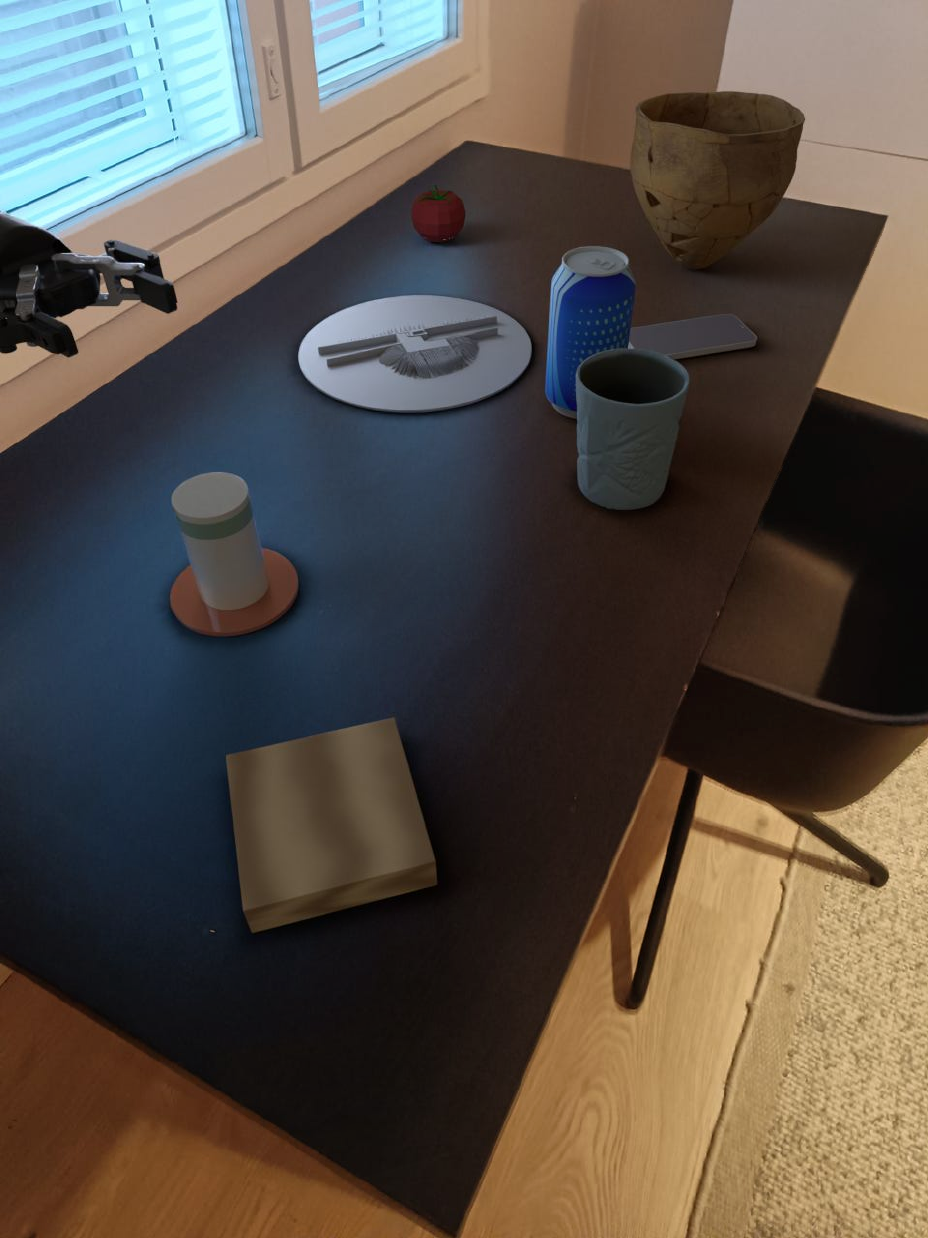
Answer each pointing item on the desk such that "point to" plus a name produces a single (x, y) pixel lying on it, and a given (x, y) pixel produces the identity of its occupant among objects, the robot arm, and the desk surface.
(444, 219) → the tomato
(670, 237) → the bowl
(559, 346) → the beer can
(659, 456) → the embossed ceramic tumbler
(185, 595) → the coaster
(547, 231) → the desk surface
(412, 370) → the plate
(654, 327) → the smartphone
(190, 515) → the canister
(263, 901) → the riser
